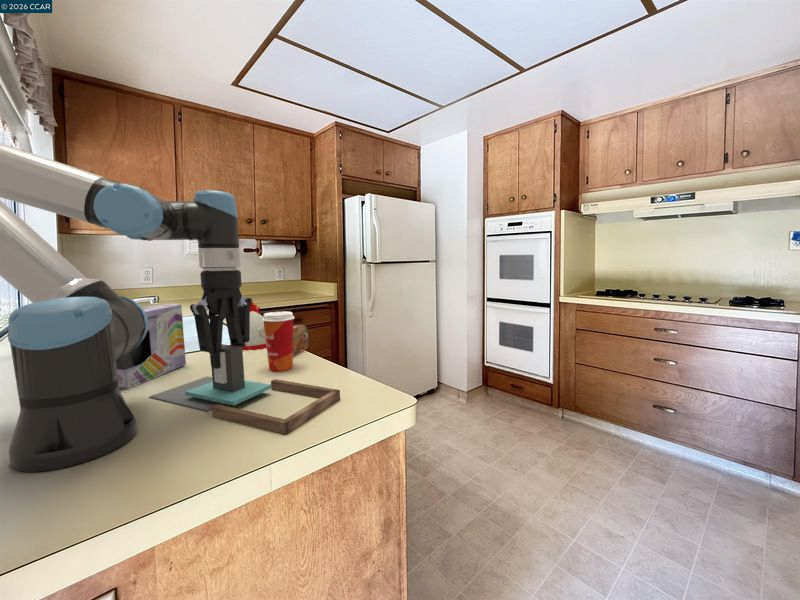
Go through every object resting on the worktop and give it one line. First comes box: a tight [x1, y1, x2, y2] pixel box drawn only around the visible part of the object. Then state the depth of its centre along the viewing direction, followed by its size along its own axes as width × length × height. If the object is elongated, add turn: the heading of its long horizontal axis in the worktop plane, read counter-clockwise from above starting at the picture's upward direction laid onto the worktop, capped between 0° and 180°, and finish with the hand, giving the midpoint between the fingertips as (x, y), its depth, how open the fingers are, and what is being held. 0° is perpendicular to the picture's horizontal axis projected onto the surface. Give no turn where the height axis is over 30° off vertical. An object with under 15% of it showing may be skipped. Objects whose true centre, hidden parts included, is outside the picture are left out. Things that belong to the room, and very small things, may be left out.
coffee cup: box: [262, 311, 295, 373], centre depth 96 cm, size 8×8×15 cm
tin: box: [293, 324, 310, 358], centre depth 112 cm, size 15×3×8 cm, turn 168°
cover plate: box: [185, 344, 272, 407], centre depth 77 cm, size 10×14×10 cm
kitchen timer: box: [229, 301, 267, 351], centre depth 122 cm, size 14×14×15 cm
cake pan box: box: [116, 303, 187, 390], centre depth 91 cm, size 19×5×18 cm, turn 170°
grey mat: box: [149, 376, 225, 412], centre depth 80 cm, size 14×18×1 cm
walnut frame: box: [211, 378, 341, 435], centre depth 72 cm, size 16×18×2 cm
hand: (228, 379), depth 77 cm, fingers closed on cover plate, 3 cm apart
